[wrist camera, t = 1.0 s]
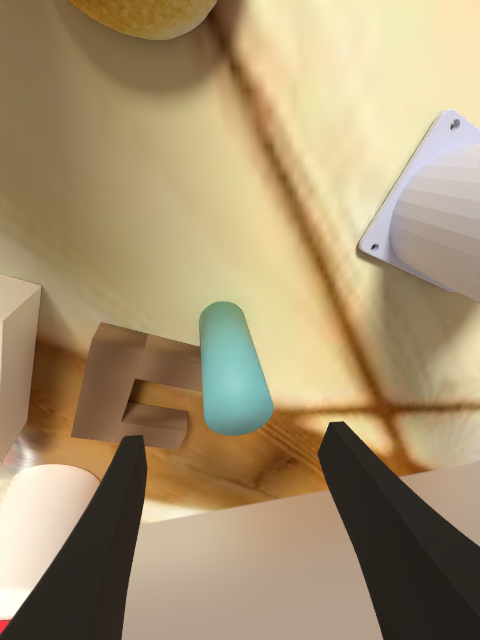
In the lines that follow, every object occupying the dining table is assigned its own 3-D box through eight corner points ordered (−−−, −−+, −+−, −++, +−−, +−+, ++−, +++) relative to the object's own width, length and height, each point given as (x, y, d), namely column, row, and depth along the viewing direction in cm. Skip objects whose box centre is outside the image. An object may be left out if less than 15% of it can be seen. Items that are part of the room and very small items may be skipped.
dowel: (252, 309, 19) (285, 395, 13) (234, 345, 21) (255, 439, 14) (208, 295, 18) (219, 380, 12) (192, 334, 20) (194, 430, 13)
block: (216, 351, 21) (218, 368, 19) (179, 429, 24) (178, 449, 23) (101, 322, 18) (91, 340, 16) (80, 414, 22) (70, 436, 20)
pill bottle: (48, 517, 28) (-20, 695, 19) (-13, 482, 24) (-138, 686, 15) (117, 493, 28) (82, 662, 19) (67, 453, 24) (-10, 644, 15)
